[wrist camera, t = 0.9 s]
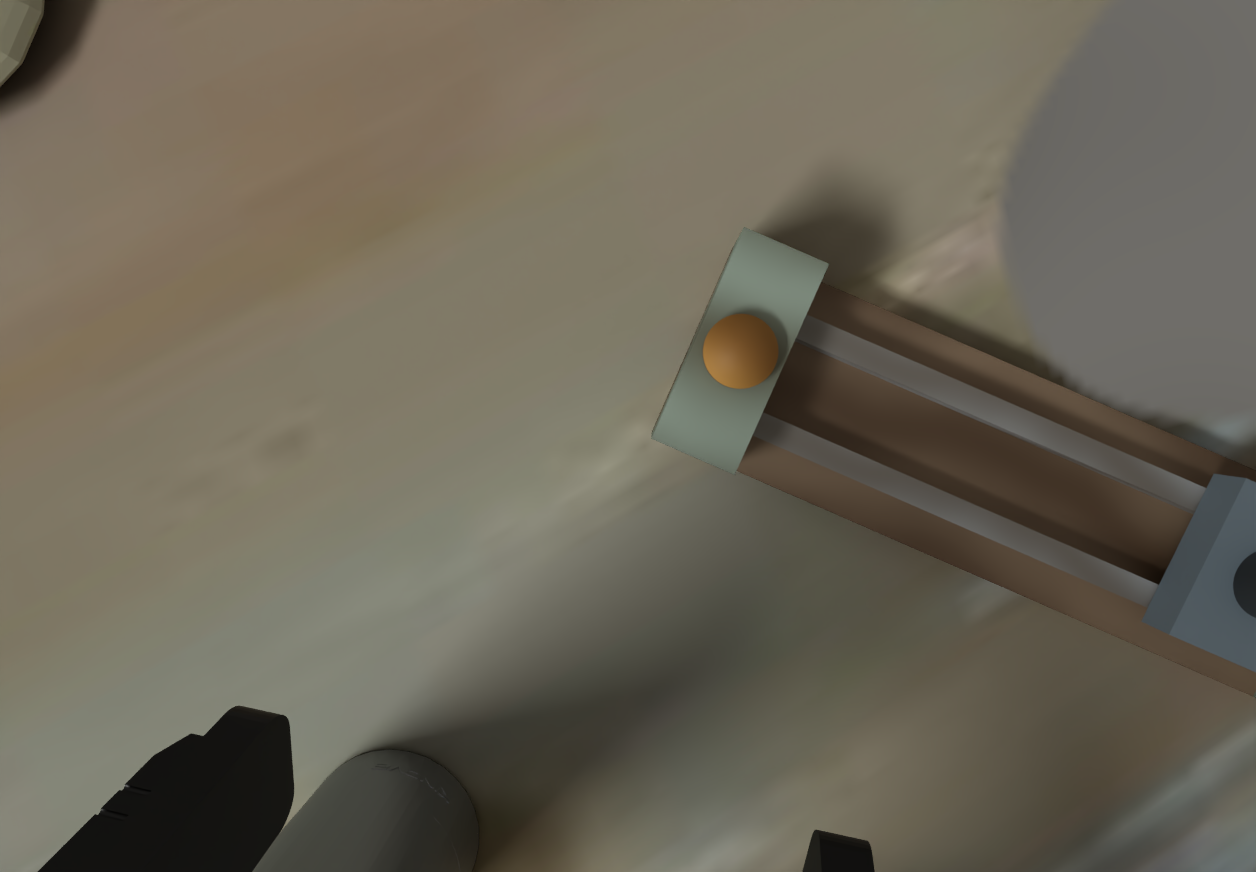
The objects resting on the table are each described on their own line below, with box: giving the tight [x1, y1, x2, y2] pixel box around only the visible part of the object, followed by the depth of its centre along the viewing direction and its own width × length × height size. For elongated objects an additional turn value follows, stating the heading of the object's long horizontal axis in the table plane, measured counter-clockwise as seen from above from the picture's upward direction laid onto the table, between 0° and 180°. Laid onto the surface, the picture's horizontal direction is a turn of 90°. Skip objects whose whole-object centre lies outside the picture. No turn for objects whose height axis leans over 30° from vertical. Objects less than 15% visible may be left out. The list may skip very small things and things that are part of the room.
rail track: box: [651, 227, 1256, 698], centre depth 36 cm, size 10×36×6 cm, turn 66°
